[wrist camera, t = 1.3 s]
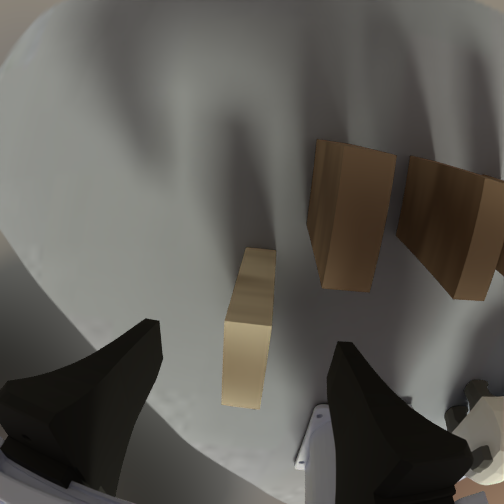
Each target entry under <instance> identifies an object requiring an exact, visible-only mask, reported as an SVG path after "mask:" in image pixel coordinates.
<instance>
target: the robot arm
mask: <svg viewBox="0 0 504 504" xmlns="http://www.w3.org/2000/svg"><path fill="white" fill-rule="evenodd" d="M162 360H163V354H162V344H161V334H160V323H159V321H157V320H152V319H144V320H143V321H141V322H140V323H138V324H137V325H135V326H134V327H133V328H131V329H130V330H129V331H127V332H126V333H124V334H123V335H121V336H120V337H118V338H117V339H116V340H114V341H113V342H111V343H109V344H108V345H106V346H105V347H103V348H101V349H100V350H98V351H96V352H95V353H93V354H91V355H90V356H88V357H86V358H84V359H81V360H79V361H78V362H75V363H73V364H71V365H68V366H65V367H63V368H60V369H58V370H55V371H52V372H49V373H45V374H42V375H38V376H34V377H29V378H24V379H17V380H10V381H7V382H6V383H5V385H4V386H3V387H2V388H1V390H0V424H1V425H2V427H3V428H4V430H5V431H6V433H7V434H8V437H7V439H6V440H4V439H2V437H0V504H135V503H132V502H128V501H125V500H122V499H119V498H116V497H115V496H116V490H117V485H118V480H119V476H120V472H121V468H122V464H123V460H124V457H125V453H126V449H127V446H128V443H129V439H130V437H131V434H132V431H133V428H134V425H135V422H136V420H137V418H138V415H139V413H140V411H141V409H142V407H143V405H144V403H145V401H146V399H147V397H148V395H149V393H150V391H151V389H152V387H153V385H154V383H155V381H156V378H157V376H158V373H159V370H160V367H161V363H162ZM327 399H328V405H327V404H320V405H317V406H316V407H315V408H314V411H313V414H312V417H311V420H310V423H309V425H308V428H307V431H306V434H305V437H304V440H303V442H302V445H301V448H300V451H299V453H298V456H297V459H296V461H295V464H294V468H295V469H297V470H305V504H488V501H487V498H486V495H485V492H483V491H482V492H479V493H476V494H473V495H470V496H467V497H463V498H461V499H459V500H457V501H455V502H454V500H453V495H454V494H455V493H456V490H455V486H454V485H455V484H456V483H457V482H458V481H459V480H460V479H461V478H462V477H463V476H464V475H465V474H466V473H467V472H468V471H469V469H470V468H471V466H472V464H473V462H474V457H473V455H472V452H471V450H470V447H469V445H468V443H467V441H466V440H465V439H463V438H461V437H459V436H457V435H454V434H452V433H450V432H448V431H446V430H444V429H442V428H441V427H439V426H437V425H436V424H434V423H432V422H431V421H429V420H428V419H426V418H425V417H423V416H422V415H420V414H419V413H418V412H416V411H415V410H414V409H413V407H412V405H411V404H406V403H405V402H404V401H403V400H402V399H401V398H400V397H398V396H397V395H396V394H395V393H394V392H393V391H392V390H391V389H390V388H389V387H388V386H387V384H386V383H385V382H384V381H383V380H382V379H381V378H380V377H379V376H378V374H377V373H376V372H375V371H374V370H373V368H372V367H371V366H370V365H369V363H368V362H367V361H366V360H365V358H364V357H363V356H362V354H361V353H360V352H359V350H358V349H357V348H356V347H355V345H354V344H353V343H352V342H341V341H338V342H337V345H336V349H335V352H334V356H333V359H332V362H331V366H330V369H329V372H328V376H327ZM318 414H319V415H318Z"/></svg>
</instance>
